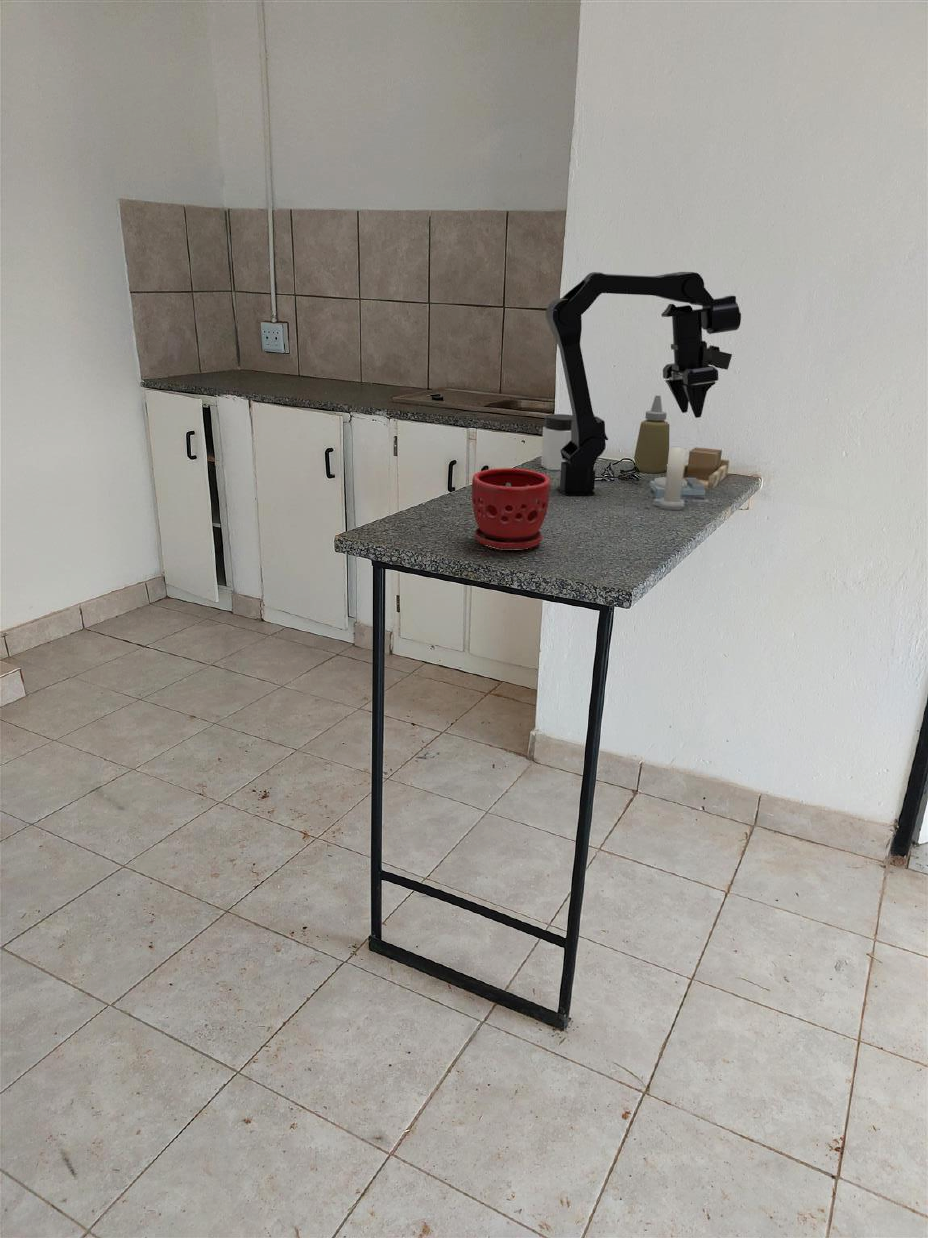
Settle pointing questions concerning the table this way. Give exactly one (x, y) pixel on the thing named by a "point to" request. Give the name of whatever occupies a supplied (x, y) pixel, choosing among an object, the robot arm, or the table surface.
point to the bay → (715, 477)
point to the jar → (555, 440)
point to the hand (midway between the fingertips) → (691, 414)
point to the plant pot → (509, 507)
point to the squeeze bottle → (653, 441)
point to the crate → (703, 462)
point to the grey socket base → (688, 488)
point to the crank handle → (673, 481)
